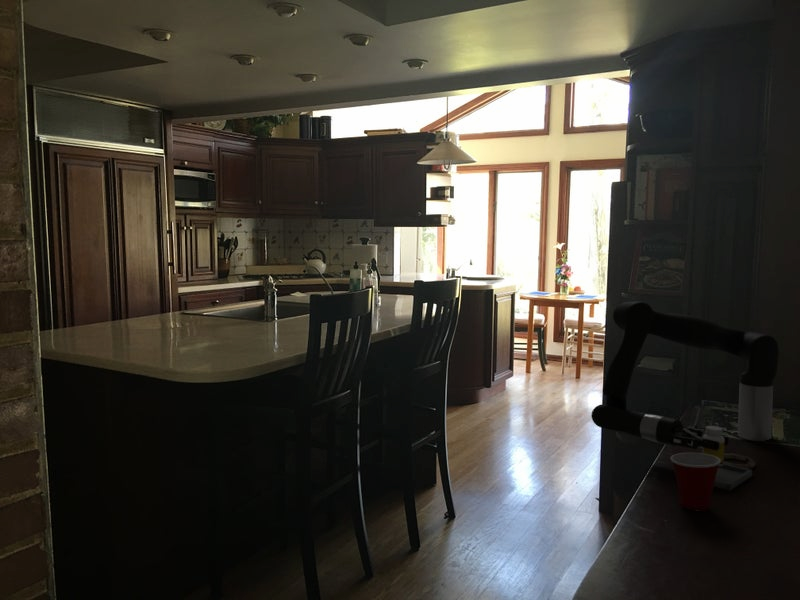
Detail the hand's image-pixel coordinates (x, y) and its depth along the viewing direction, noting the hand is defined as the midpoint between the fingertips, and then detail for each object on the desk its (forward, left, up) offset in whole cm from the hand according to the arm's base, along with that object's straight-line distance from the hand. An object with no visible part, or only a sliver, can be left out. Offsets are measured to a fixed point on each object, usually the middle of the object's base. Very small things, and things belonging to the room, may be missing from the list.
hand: (723, 443), depth 166 cm
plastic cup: (+23, +3, -10) cm, 25 cm away
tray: (0, -2, -9) cm, 10 cm away
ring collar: (-14, -2, -9) cm, 17 cm away
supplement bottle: (0, -3, -6) cm, 7 cm away
